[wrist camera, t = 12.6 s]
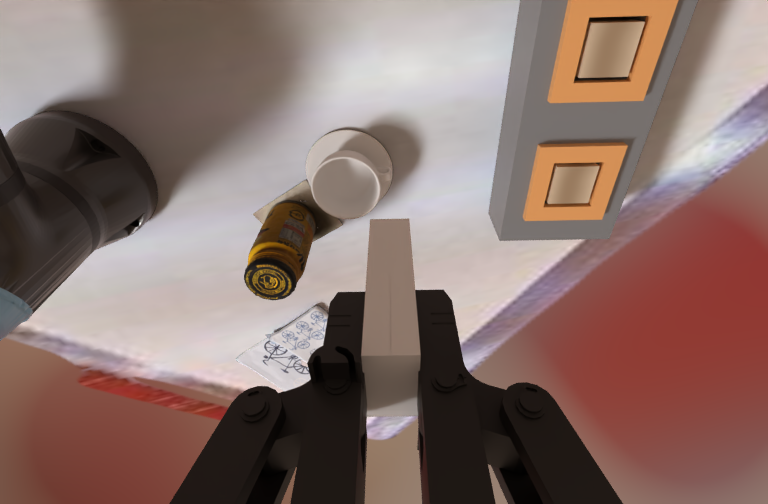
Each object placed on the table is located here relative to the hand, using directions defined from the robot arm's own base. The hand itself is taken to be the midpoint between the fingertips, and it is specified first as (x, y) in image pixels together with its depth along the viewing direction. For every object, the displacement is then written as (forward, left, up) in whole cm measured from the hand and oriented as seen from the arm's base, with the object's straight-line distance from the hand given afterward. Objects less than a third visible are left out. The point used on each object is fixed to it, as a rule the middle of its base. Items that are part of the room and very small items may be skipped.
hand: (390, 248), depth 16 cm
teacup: (-5, -10, -30) cm, 32 cm away
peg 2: (+18, +3, -29) cm, 35 cm away
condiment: (-12, -16, -30) cm, 36 cm away
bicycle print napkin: (-13, -44, -30) cm, 55 cm away
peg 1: (+18, -9, -29) cm, 36 cm away
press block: (+18, -3, -29) cm, 35 cm away
